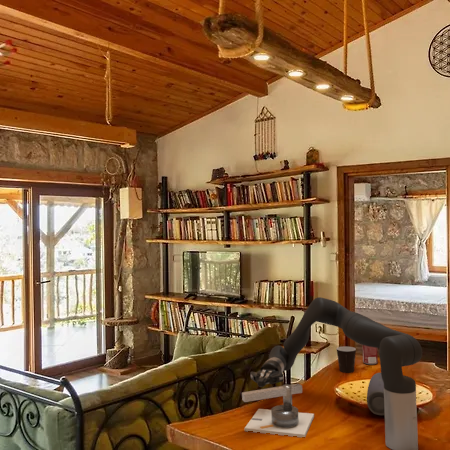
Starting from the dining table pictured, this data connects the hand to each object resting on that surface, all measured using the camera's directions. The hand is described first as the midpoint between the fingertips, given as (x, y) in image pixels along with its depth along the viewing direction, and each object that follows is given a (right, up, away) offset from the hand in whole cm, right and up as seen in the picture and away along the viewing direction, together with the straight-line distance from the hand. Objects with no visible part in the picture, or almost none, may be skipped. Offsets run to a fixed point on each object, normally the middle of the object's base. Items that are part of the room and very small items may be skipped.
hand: (260, 384), depth 177 cm
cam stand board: (+6, -12, -4) cm, 14 cm away
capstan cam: (+4, -11, -8) cm, 14 cm away
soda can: (+57, -10, +64) cm, 86 cm away
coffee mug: (+42, -11, +52) cm, 68 cm away
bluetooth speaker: (+44, -11, +8) cm, 47 cm away
